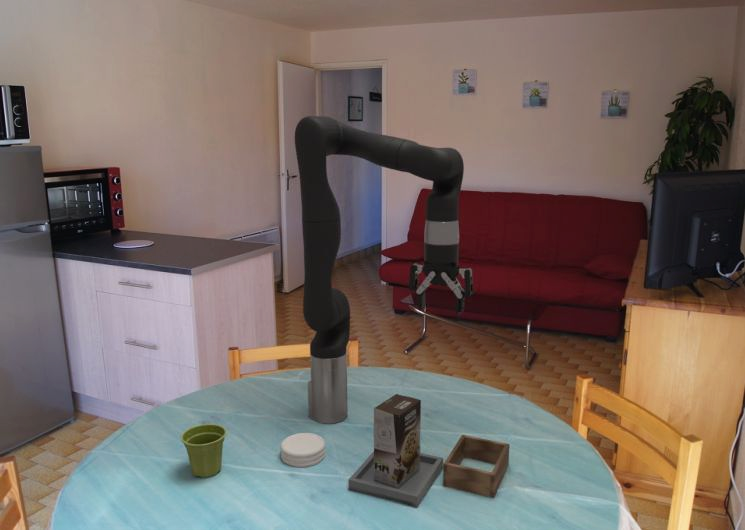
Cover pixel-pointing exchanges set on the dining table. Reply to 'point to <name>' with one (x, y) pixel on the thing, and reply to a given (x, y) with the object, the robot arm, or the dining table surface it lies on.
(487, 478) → the wooden frame
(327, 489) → the dining table surface
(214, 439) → the plant pot
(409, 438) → the coffee box
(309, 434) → the coaster
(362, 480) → the tray
